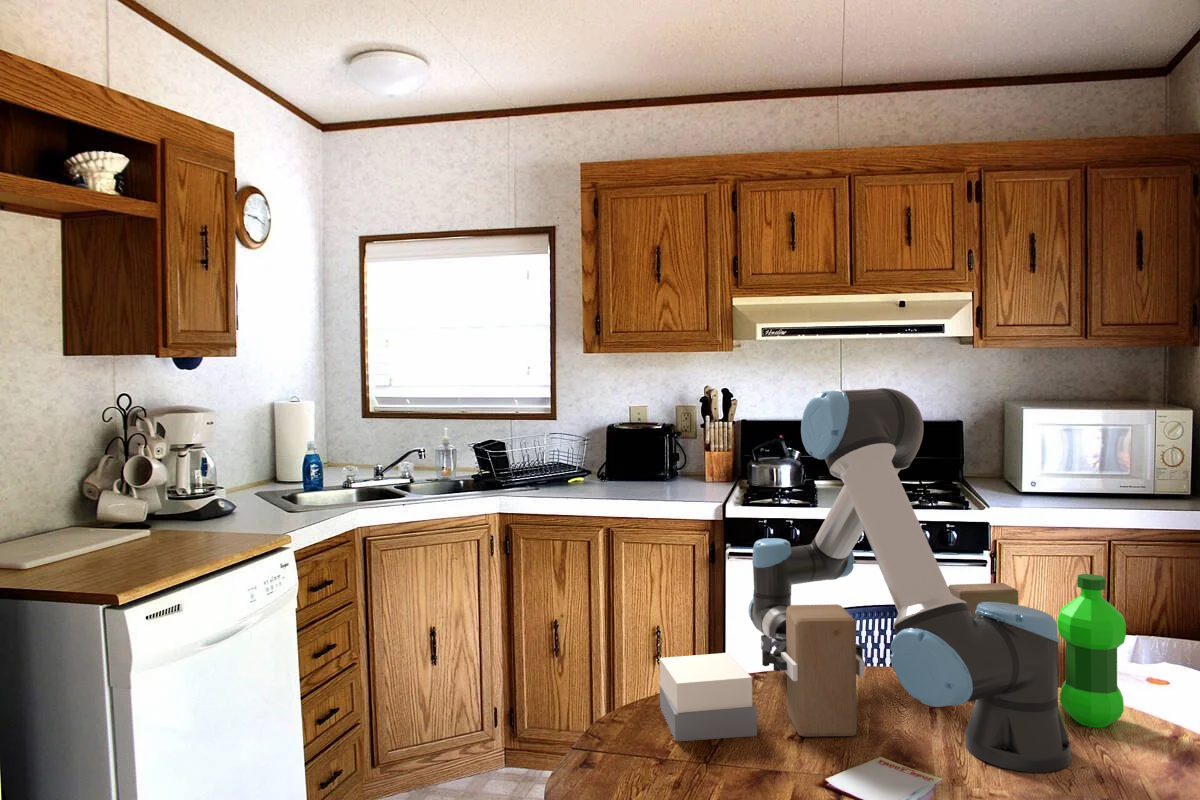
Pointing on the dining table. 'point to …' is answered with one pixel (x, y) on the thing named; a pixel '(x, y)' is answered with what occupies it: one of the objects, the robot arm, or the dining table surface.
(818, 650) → the wooden block
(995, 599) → the decorative block
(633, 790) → the dining table surface
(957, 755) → the dining table surface
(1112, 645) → the plastic bottle
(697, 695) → the tower top
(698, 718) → the tower base
